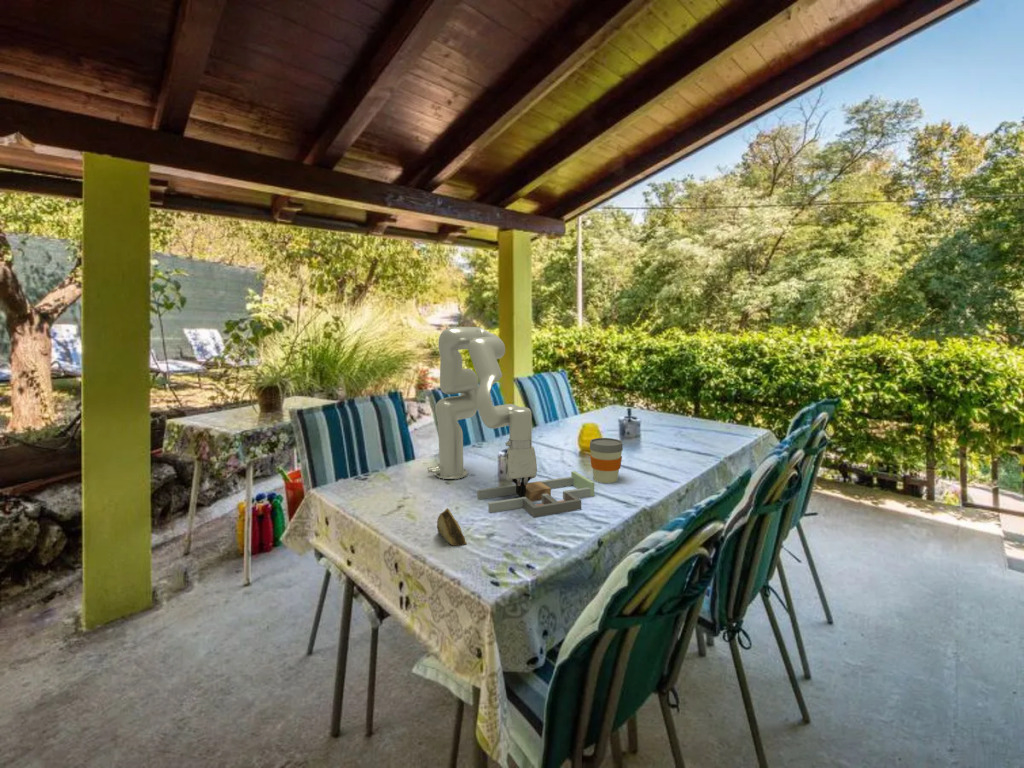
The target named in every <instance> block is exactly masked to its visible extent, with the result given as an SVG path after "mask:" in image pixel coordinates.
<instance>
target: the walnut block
mask: <svg viewBox="0 0 1024 768" xmlns="http://www.w3.org/2000/svg"><path fill="white" fill-rule="evenodd" d="M540 481H541V480H539V482H537V481H532V482H533V483H530V482H528V483H527V485H526V493H525V497H526V498H528V499H529V500H530V501H531V502H532V503H533V502H536V501H542V494H549V495H550V496H551V494H552V489H551V488H550V487H548V486H546V485H545V484H543V483H542V482H540ZM551 497H552V496H551Z"/></svg>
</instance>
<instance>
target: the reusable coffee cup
mask: <svg viewBox="0 0 1024 768" xmlns="http://www.w3.org/2000/svg"><path fill="white" fill-rule="evenodd" d="M589 450H590V455H589V459H590V466H591V468H592V475H593V480H594V481H595V482H597V481H598V482H597V483H600V482H602V483H601V484H614V483H616V482H618V479H619V470H620V469H621V466H622V459H623V457H622V451H623V450H624V448H623V441H622V440H619V439H617V438H610V437H598V438H593V439H591V440H590V442H589ZM613 482H614V483H613Z"/></svg>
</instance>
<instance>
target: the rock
mask: <svg viewBox="0 0 1024 768" xmlns="http://www.w3.org/2000/svg"><path fill="white" fill-rule="evenodd" d="M436 528H437V533H438V534H439V535H440V534H441V535H440V536H441V537H442V536H443V537H444V538H443V537H442V538H443V539H445V541H446V540H447V541H448V542H449V543H450V544H451V545H450V544H449V543H448V542H447V541H446V542H447V543H448V544H449V545H450V546H464V544H466V545H467V542H466V538H465V536H464V534H463V531H462V529H461V525H460V524H459V523H458V521H457V519H456V518H455V517H454V515H453V513H452V512H451V511H450V509H449V508H448V507H447V508H446V509H444V511H443V512H442V513H440V514H439V515H438V517H437V521H436Z"/></svg>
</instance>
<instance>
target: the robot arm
mask: <svg viewBox="0 0 1024 768" xmlns="http://www.w3.org/2000/svg"><path fill="white" fill-rule="evenodd" d="M437 345H438V350H439V357H440V358H439V359H440V360H439V361H440V363H439V364H440V367H439V387H440V390H441V392H442V393H443V394H445V395H455V394H460V395H457V396H456V395H455V396H447V397H443V398H441V399H439V400H438V401H437V402H436V404H435V410H434V412H435V416H436V421H437V430H438V453H439V455H438V456H439V457H438V458H439V459H438V460H439V461H438V462H439V463H437V465H435V466H434V467H432V466H431V467H430V466H429V467H427V473H432V474H435V476H437V477H439V478H438V479H440V478H443V479H442V480H444V479H455V480H460V478H461V479H463V477H464V478H465V476H466V477H467V476H468V471H467V469H464V434H463V433H464V432H463V429H462V426H461V425H460V423H459V422H458V421H460V420H464V419H465V420H466V419H470V418H472V417H474V416H475V415H476V414H477V411H478V413H479V416H480V418H481V421H482V422H483V425H484V426H485V427H487V429H490V430H493V429H499V428H504V427H508V428H509V430H508V431H509V432H508V433H509V439H508V441H506V442H505V446H508V448H507V451H506V457H505V475H506V476H505V480H506V482H513V483H514V485H515V484H516V494H515V495H517V496H518V498H520V497H525V493H526V485H527V483H529V481H531V480H533V479H535V478H536V477H537V474H538V473H537V472H538V467H537V466H538V465H537V464H538V463H537V456H536V450H535V447H534V446H532V445H533V444H532V443H533V442H532V439H533V437H532V434H533V432H532V429H533V428H532V427H533V426H532V425H533V424H532V418H533V417H532V416H533V415H532V414H533V413H532V410H531V409H530V408H529V407H526V406H518V405H516V404H513V403H505V404H499V405H494V404H493V401H492V398H491V390H492V387H493V385H494V384H495V383H497V382H498V381H500V379H501V378H502V377H503V373H502V370H501V367H500V365H499V362H498V360H499V359H502V358H503V357H504V355H505V354H506V346H505V343H504V342H503V340H502V339H501V338H500V337H499V336H497V335H496V334H494V333H492V332H490V331H488V329H487V330H486V329H485V328H483V327H480V326H453V327H448V328H445V329H444V330H442V332H441V333H440V334H439V336H438V344H437ZM459 350H468V354H469V357H470V359H471V362H472V366H473V368H474V370H475V371H474V370H473V369H471V368H463V356H462V355H461V353H460V351H459ZM437 477H436V478H437Z"/></svg>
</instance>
